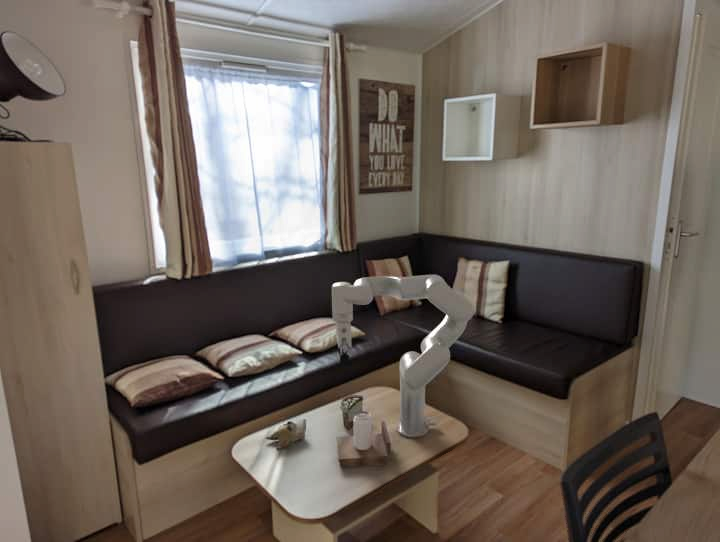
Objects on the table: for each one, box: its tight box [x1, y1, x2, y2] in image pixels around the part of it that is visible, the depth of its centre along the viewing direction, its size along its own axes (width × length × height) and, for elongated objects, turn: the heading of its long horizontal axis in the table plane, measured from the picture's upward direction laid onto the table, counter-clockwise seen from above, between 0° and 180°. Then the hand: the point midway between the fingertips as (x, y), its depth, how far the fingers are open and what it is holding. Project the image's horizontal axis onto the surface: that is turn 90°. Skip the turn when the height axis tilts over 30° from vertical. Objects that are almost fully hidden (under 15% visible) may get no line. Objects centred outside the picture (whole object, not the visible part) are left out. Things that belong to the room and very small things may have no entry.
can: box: [353, 410, 373, 450], centre depth 179 cm, size 6×6×12 cm
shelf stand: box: [336, 420, 392, 469], centre depth 180 cm, size 18×14×9 cm
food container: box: [339, 394, 364, 431], centre depth 202 cm, size 12×6×10 cm, turn 149°
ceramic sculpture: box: [265, 418, 307, 451], centre depth 190 cm, size 11×9×15 cm
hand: (343, 358), depth 190 cm, fingers open, 9 cm apart
